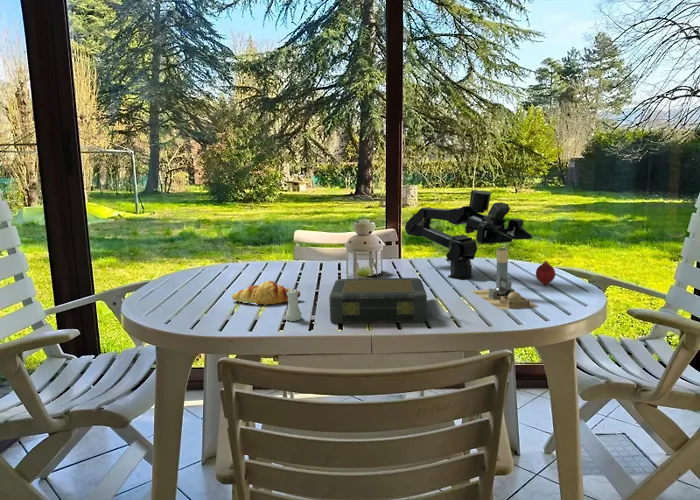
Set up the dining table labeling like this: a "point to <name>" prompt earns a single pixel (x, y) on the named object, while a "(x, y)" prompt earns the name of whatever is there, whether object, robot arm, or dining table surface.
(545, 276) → the onion
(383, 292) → the cash box
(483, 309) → the dining table surface
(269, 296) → the croissant
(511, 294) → the beige ball
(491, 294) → the base
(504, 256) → the lever
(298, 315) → the rook chess piece
